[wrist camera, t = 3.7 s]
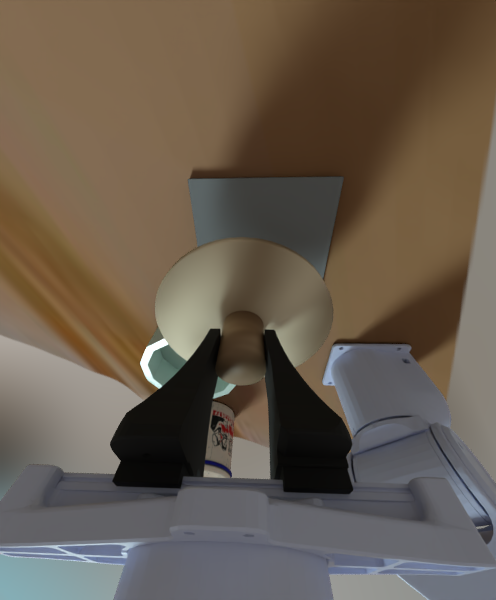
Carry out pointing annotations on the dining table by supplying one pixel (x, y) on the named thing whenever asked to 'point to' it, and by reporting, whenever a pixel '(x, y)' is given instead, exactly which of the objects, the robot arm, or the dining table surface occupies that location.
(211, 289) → the lid
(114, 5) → the dining table surface
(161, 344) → the bowl
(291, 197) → the mat
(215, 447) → the teacup with lid
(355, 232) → the dining table surface
